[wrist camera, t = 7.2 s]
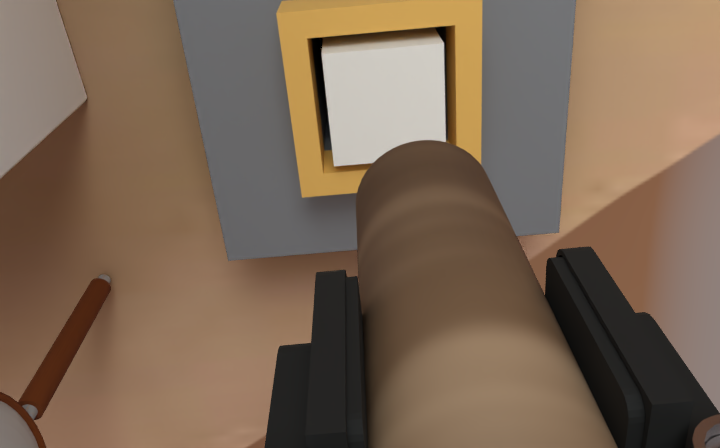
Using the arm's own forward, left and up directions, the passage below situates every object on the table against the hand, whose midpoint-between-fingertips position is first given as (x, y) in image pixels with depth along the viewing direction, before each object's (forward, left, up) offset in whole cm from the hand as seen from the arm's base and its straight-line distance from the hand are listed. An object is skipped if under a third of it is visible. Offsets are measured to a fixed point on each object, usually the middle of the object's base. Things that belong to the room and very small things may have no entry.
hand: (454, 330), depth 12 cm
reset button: (0, 0, -20) cm, 20 cm away
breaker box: (0, 0, -23) cm, 23 cm away
